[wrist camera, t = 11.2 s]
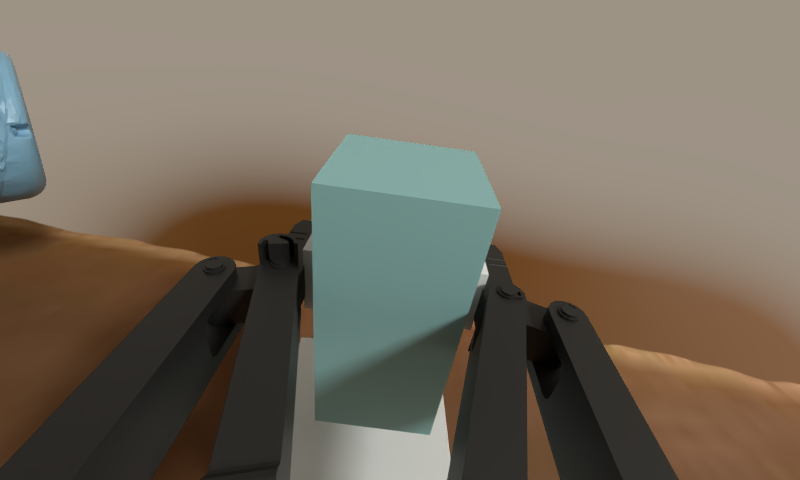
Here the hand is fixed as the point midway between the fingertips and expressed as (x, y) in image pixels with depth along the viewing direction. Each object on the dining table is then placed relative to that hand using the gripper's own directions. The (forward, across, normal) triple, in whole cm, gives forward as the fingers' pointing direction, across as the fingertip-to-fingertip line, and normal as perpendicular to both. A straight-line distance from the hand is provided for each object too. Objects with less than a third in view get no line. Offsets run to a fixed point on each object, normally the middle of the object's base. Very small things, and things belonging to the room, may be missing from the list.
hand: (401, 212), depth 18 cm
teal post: (-5, 0, -6) cm, 8 cm away
